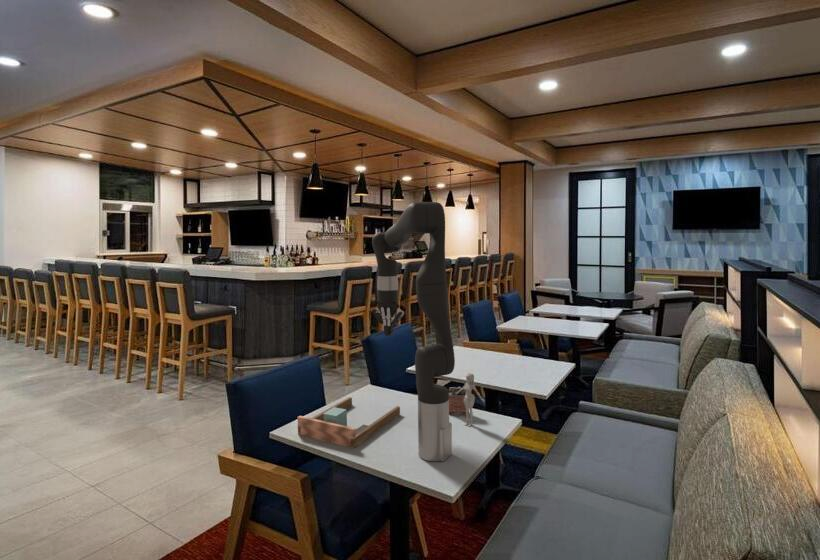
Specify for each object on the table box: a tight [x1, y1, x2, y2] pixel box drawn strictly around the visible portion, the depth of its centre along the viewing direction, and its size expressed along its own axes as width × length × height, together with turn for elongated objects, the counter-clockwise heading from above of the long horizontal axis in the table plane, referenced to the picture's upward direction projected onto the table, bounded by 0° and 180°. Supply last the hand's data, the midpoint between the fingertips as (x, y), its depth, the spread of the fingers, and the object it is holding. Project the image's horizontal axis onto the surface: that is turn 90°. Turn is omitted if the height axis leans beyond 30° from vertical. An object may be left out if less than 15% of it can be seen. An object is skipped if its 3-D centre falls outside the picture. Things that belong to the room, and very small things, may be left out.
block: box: [323, 407, 348, 426], centre depth 153 cm, size 5×6×8 cm
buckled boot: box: [448, 386, 466, 417], centre depth 169 cm, size 8×3×10 cm, turn 84°
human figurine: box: [455, 372, 486, 428], centre depth 159 cm, size 12×4×18 cm, turn 47°
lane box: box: [297, 396, 401, 449], centre depth 161 cm, size 22×29×6 cm
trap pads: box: [356, 424, 369, 434], centre depth 159 cm, size 18×8×1 cm, turn 62°
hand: (388, 335), depth 168 cm, fingers closed
